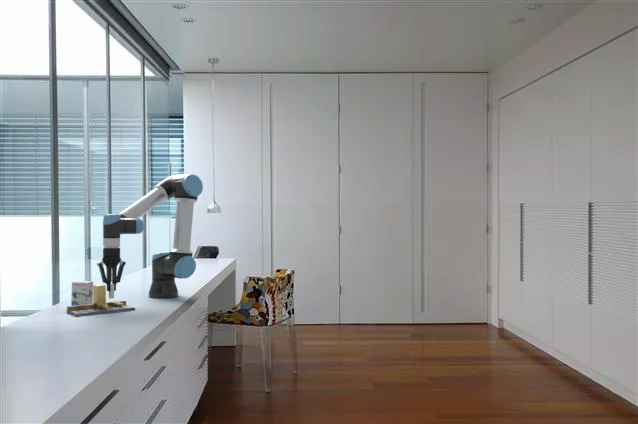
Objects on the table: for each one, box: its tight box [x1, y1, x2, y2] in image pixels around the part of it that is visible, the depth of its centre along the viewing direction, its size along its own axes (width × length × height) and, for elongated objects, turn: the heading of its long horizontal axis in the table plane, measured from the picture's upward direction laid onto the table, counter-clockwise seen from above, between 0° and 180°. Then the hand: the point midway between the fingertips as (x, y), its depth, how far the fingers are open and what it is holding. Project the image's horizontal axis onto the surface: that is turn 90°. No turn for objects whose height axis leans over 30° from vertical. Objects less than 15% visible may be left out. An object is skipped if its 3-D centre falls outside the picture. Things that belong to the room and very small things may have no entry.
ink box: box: [70, 280, 94, 306], centre depth 276 cm, size 9×5×12 cm, turn 84°
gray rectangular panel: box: [69, 304, 136, 317], centre depth 261 cm, size 26×8×1 cm, turn 130°
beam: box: [66, 300, 127, 314], centre depth 264 cm, size 26×9×3 cm, turn 130°
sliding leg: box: [93, 284, 109, 309], centre depth 265 cm, size 4×10×11 cm, turn 40°
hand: (111, 298), depth 271 cm, fingers closed
